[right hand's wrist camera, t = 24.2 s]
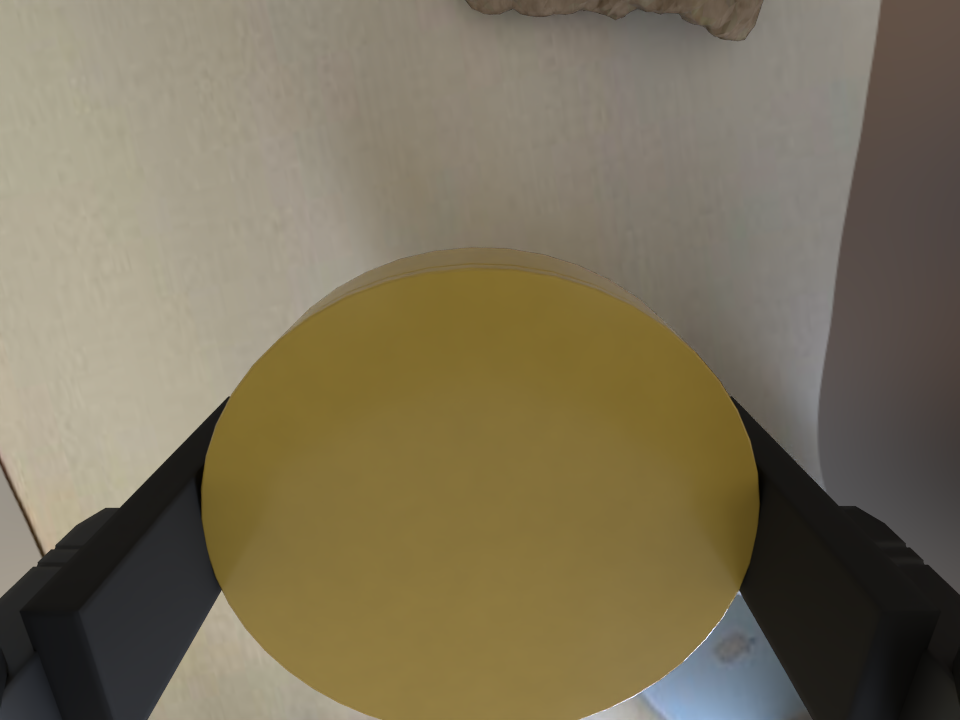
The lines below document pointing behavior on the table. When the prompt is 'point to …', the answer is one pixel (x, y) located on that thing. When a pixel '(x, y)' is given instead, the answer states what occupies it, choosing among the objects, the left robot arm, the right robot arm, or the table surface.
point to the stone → (710, 3)
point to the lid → (480, 492)
